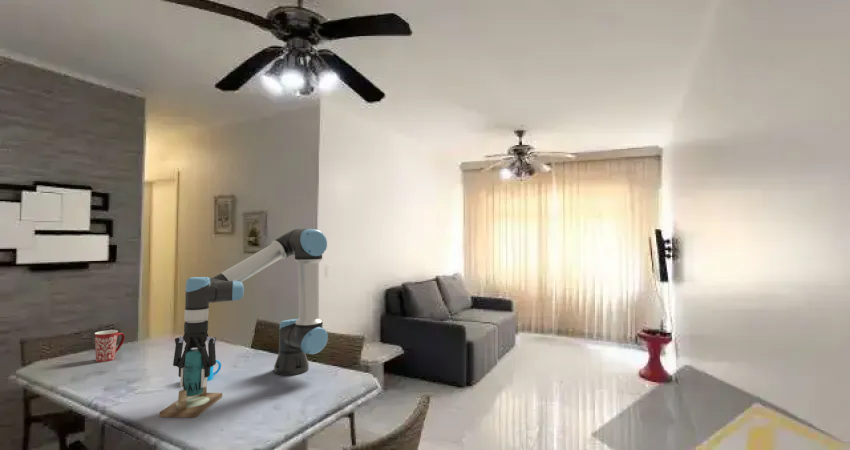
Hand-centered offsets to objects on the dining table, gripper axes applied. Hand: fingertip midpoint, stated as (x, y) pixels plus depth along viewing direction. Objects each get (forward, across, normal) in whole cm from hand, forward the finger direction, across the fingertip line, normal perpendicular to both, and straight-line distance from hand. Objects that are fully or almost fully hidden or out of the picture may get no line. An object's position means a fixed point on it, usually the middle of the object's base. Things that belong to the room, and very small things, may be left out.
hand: (193, 386), depth 145 cm
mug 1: (+7, +72, -55) cm, 91 cm away
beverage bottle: (+4, 0, 0) cm, 4 cm away
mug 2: (+7, +11, -30) cm, 33 cm away
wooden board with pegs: (+7, 0, 0) cm, 7 cm away
